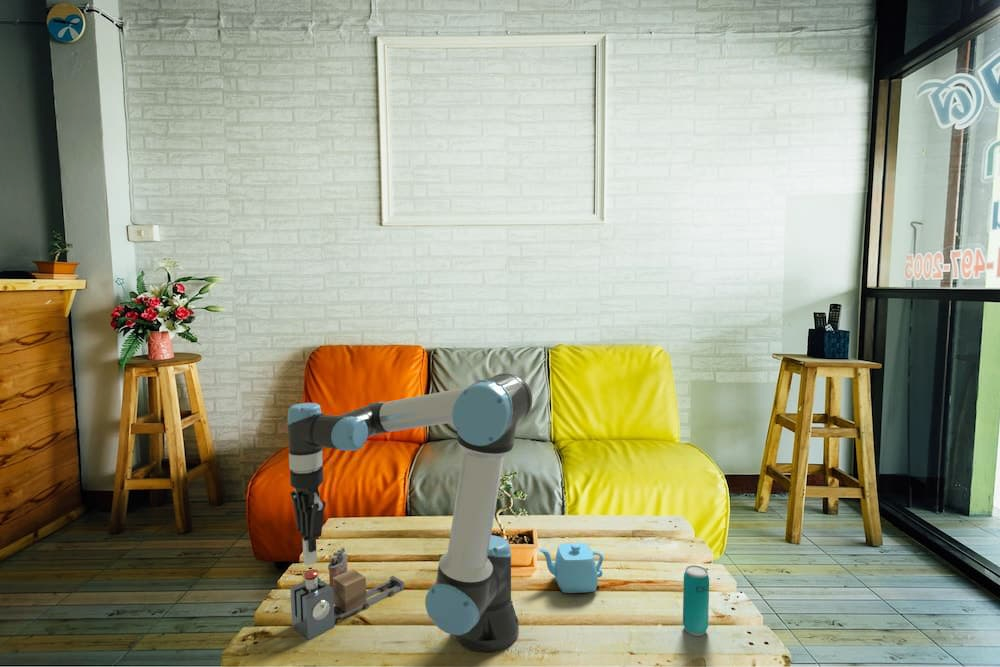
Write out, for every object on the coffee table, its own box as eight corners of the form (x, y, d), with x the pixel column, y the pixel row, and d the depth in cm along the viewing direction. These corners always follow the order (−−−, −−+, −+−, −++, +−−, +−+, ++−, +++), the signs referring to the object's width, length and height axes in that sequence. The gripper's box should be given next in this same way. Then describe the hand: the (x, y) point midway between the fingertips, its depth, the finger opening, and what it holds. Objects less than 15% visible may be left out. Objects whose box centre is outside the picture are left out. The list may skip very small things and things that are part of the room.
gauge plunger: (321, 599, 139) (320, 572, 138) (309, 604, 137) (308, 577, 136) (315, 594, 141) (313, 568, 141) (302, 599, 139) (301, 573, 138)
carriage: (366, 603, 147) (365, 577, 146) (346, 612, 143) (345, 586, 142) (353, 594, 151) (353, 569, 150) (333, 603, 147) (332, 577, 146)
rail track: (404, 589, 156) (404, 582, 156) (306, 638, 135) (305, 630, 135) (392, 581, 160) (391, 575, 160) (294, 627, 139) (293, 620, 139)
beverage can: (713, 635, 134) (714, 574, 133) (692, 639, 133) (693, 578, 131) (698, 621, 140) (699, 563, 139) (677, 625, 138) (678, 566, 137)
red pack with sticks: (337, 594, 154) (336, 559, 153) (326, 593, 154) (324, 558, 153) (351, 579, 162) (350, 545, 161) (340, 578, 162) (339, 544, 161)
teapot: (535, 574, 163) (535, 536, 162) (597, 572, 164) (597, 534, 163) (541, 599, 151) (541, 557, 150) (608, 596, 152) (608, 554, 151)
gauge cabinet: (335, 627, 139) (334, 588, 138) (308, 640, 134) (307, 600, 133) (318, 614, 145) (316, 576, 144) (292, 626, 140) (290, 587, 139)
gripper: (334, 470, 134) (338, 566, 136) (307, 458, 143) (311, 548, 145) (305, 478, 129) (309, 578, 131) (278, 466, 138) (283, 559, 140)
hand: (310, 562), depth 138 cm, fingers closed
